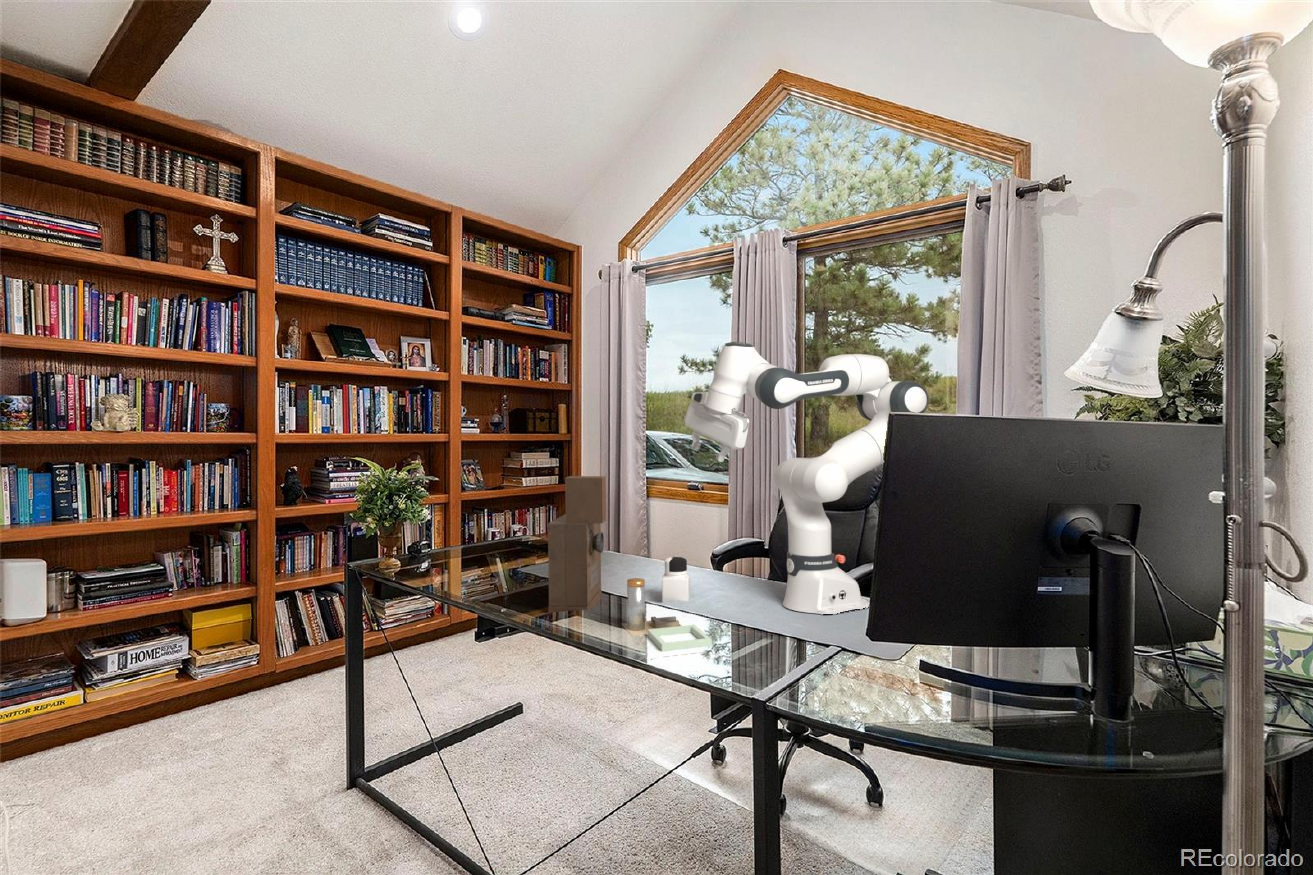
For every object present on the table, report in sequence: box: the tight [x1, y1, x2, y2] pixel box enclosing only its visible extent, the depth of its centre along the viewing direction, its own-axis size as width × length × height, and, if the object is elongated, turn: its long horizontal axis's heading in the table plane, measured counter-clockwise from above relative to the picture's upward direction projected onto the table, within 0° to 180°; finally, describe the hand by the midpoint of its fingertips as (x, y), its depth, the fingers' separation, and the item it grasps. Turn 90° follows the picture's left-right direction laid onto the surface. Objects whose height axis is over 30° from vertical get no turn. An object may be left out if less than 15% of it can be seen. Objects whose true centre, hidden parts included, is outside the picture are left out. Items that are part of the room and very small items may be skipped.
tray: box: [647, 624, 713, 658], centre depth 143 cm, size 11×11×3 cm
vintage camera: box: [547, 475, 607, 614], centre depth 178 cm, size 19×14×35 cm
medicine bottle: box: [661, 556, 691, 604], centre depth 180 cm, size 7×7×12 cm
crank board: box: [620, 615, 682, 637], centre depth 154 cm, size 13×10×3 cm
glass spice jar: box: [626, 577, 646, 631], centre depth 152 cm, size 4×4×11 cm
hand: (706, 454), depth 171 cm, fingers open, 8 cm apart
